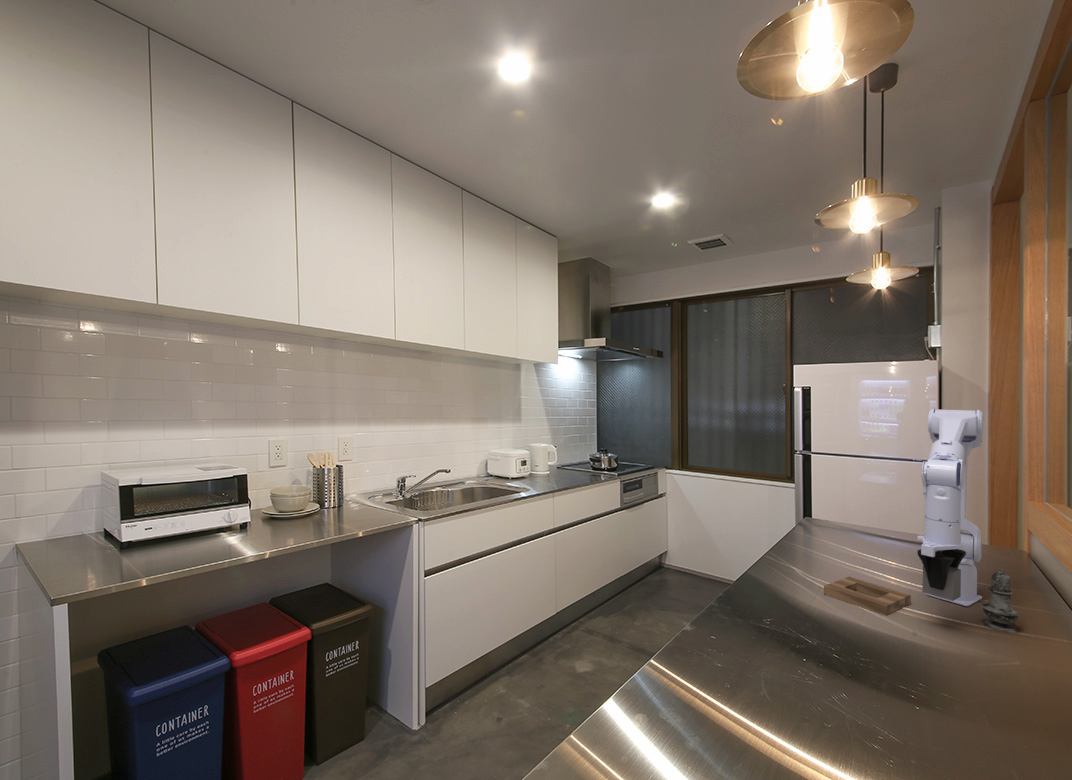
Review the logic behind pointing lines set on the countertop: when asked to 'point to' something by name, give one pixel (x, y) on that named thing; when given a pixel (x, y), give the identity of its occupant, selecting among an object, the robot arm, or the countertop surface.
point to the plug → (951, 586)
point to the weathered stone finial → (1000, 604)
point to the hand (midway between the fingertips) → (941, 586)
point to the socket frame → (882, 603)
